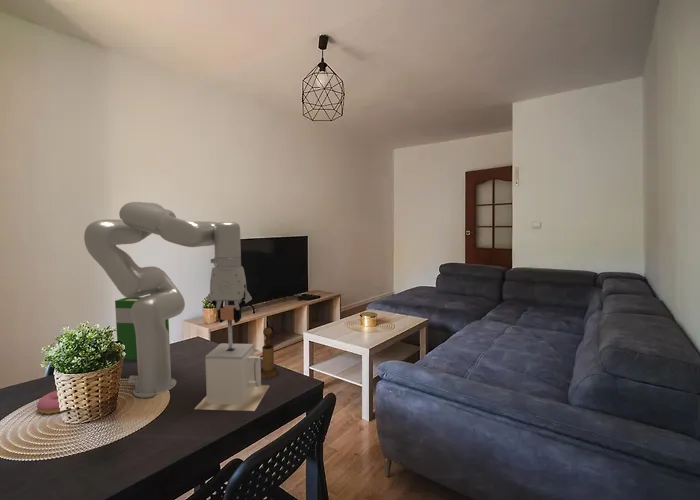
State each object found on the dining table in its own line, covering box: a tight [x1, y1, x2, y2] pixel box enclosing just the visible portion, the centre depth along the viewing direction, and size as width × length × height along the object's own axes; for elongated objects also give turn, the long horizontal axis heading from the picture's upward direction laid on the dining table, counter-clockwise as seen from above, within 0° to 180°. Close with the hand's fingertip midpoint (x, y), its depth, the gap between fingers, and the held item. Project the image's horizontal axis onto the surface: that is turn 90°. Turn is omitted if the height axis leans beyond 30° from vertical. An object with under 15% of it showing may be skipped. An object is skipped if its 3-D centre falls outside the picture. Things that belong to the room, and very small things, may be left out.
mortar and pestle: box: [261, 327, 279, 379], centre depth 126 cm, size 7×6×18 cm
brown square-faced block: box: [220, 304, 235, 351], centre depth 110 cm, size 8×8×19 cm
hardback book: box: [114, 296, 170, 361], centre depth 146 cm, size 18×7×24 cm, turn 84°
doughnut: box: [36, 390, 61, 415], centre depth 107 cm, size 11×11×4 cm
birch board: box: [194, 384, 271, 412], centre depth 111 cm, size 18×16×1 cm
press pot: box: [205, 342, 262, 405], centre depth 111 cm, size 15×11×15 cm
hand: (229, 321), depth 110 cm, fingers closed on brown square-faced block, 4 cm apart
